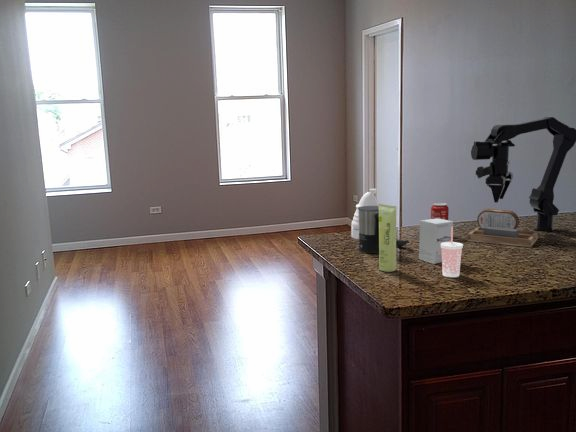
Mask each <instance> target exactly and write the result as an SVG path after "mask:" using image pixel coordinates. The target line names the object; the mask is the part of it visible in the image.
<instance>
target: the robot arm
mask: <svg viewBox="0 0 576 432" xmlns="http://www.w3.org/2000/svg"><path fill="white" fill-rule="evenodd" d="M542 130H547V132H548V133H549V134H550V135H552V136H553V139H552V147H553V149H552V153H551V156H550V158H549V160H548V163H547V167H546V169H545V171H544V174H543V176H542V180H541V182H540V185H539V186H538V187H537V188H536V187H535V188H534V187H533V188H532V189H531V192H530V195H529V196H528V199H529V204H530V207H532V211H533V212H534V213H536V226H535V227H534V228H533V230H535V231H545V232H553V231H554V230H555V229H556V227H555V226H554V216H558V213H559V212H560V209H559V208H558V207H557V206H556V205H555V204H554V198H555V193H554V189H555V185H556V184H557V183H556V182H557V180H558V178H559V175H560V172H561V169H562V168H563V167H562V166H563V164H564V162H565V159H566V156H567V155H568V153H569V151H570V150H571V149H572V148H574V146H575V144H576V128H575V127H570V126H569V125H567V124H565V123H563V122H561V121H560V120H558V119H557V118H555V117H553V116H544V117H542V118H538V119H534V120H530V121H523V122H520V123H514V124H513V123H512V124H511V123H510V124H494V125H493V126H492V128H491V131H490V134H489V135H488V136H487V137H486V138H485V140H484V141H473V145H472V147H471V150H470V156H471V159H472V160H473V161H478V160H479V161H483V160H485V161H487V160H490V159H491V162H490V163H489V165H488V166H486V167H484V166H477V168H476V170H475V175H476V177H477V179H481V178H483V177H485V176H487V177H486V178H485V185H486V186H487V187H488V188H490V189H491V193H492V197H493V202H494V203H496V204H497V203H498V202H499V200H503V199H504V198H505V195H506V193H507V191H508V189H509V187H510V185H511V183H512V180H513V179H514V174H513V173H512V172H511V171H509V165H510V160H509V156H510V154H509V153H510V152H509V151H510V147H512V148H513V147H515V146H516V145H515V143H513V142H512V139H515V138H516V137H517V136H520V135H522V134H523V135H524V134H527V133H532V132H537V131H542Z"/></svg>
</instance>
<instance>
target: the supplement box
mask: <svg viewBox="0 0 576 432" xmlns="http://www.w3.org/2000/svg"><path fill="white" fill-rule="evenodd" d="M451 227H453V228H454V221H452V220H450V219H448V220H444V219H438V218H437V219H431V218H429V219H422V220H420V221H419V242H418V243H419V246H418V249H419V250H418V251H419V252H418V253H419V254H418V259H419V260H421V261H424V262H426V263H429V264H433V265H435V264H442V248H441V243H443V242H451Z"/></svg>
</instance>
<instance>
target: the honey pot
mask: <svg viewBox="0 0 576 432" xmlns="http://www.w3.org/2000/svg"><path fill="white" fill-rule="evenodd" d="M377 191H378V190H377V188H369V191H366V192H365V193H364V194H363V195H362V196H361V198H360V200H359V202H358V203H357V204H355V208H356V209H355V212H354V214H353V215H354V216H353V218H352V221H351V223H350V224H351V235H350V236H351V238H352V239H355V240H359V209H358V207H361V206H379V204H380V203H379V201H378V199H377V197H376V196H375V194H376V193H377Z"/></svg>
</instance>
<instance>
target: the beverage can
mask: <svg viewBox="0 0 576 432" xmlns="http://www.w3.org/2000/svg"><path fill="white" fill-rule="evenodd" d="M449 210H450V209H449V206H448V203H446V202H444V203H443V202H435V203H432V205H431V207H430V219H437V218H438V219H444V220H449V213H450V212H449Z"/></svg>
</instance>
